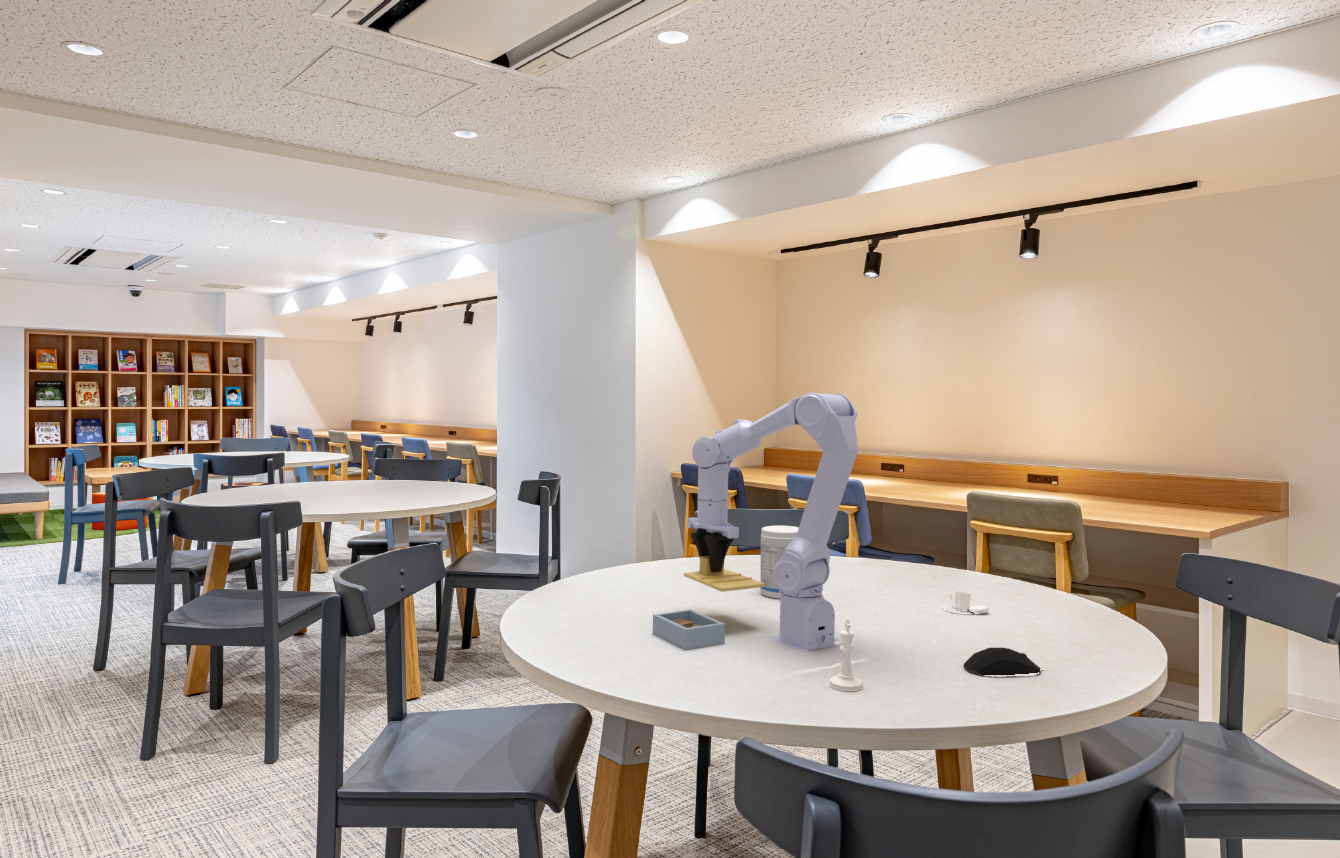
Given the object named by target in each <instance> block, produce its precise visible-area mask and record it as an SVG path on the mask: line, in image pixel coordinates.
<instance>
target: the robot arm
mask: <svg viewBox="0 0 1340 858" xmlns="http://www.w3.org/2000/svg"><path fill="white" fill-rule="evenodd" d="M857 417H858V412H857V410H856V408H855V406H854V405H853V404H852V402H851V400H850V399H849V398H848V396H846V395H845V394H842V393H831V394H830V393H817V392H807V393H805V394H803V395H802V396H798V397H795V398H792V399H791V400H789V401H788V402H786V403H785V404H783V405H782V406H780V407H778V408H776V409H774V410H772V411H771V412H769V413H768V414H765V415H764V416H762V417H760V418H759V419H757V420H755V421H751V420H749V419H742V418H738V419H735V420H734V421H732V423H733V425H731V426H729V427H727V428H725V429H724V430H722V429H717V430H716V431H715V432H714V435H713V436H707V435H705V436H700V437H699V439H697V440H696V441H695V442H694V444H693V446H692V450H691V451H692V452H691V454H692V459H693V460H694V462H695V464H696V465H697V466H698V467H697V468H698V469H697V470H698V471H697V472H698V473H697V475H698V476H697V517H687V528H688V529H696V531H695V532H691V533H690V536H691V539H692V540H693V543H694V544H695V548H696V551H697V552H698V553H697V554H698V557H699V559H700V556H709V564H710V571H711V572H712V573H715V572H721V571H722V567H723V563H724V564H725V559H726V555H727V553H728V551H729V549H730V547H731V545H732V544H733V542H734V540H735V539H737V538H740V537H739V534H740V527H739V526H735V525H733V524H731V523H729V522H728V506H729V504H728V503H729V501H728V500H729V499H728V494H729V473H730V471H731V469H730V467H731V465H732V464H733V462H734V460H735V459H737V458H738V457H741V456H743V455H745V454H747V453H749V452H751V451H754V450H756V449H757V448H759V447H760V445H761V443H762V439H763V438H766V437H768V436H771V435H773V434H775V433H777V432H780V431H782V430H785V429H787V428H789V427H792V426H798V425H800V427H801V428H802V429H803V430H804V431H805V432H806V433H807V434H808V435H809V436H810V437H811V438H812V439H813V440H814V441H815V442H816V443H817V445H818V446H819V449H820V450H821V453H822V455H821V458H820V462H819V464H818V468H817V470H816V474H815V477H814V479H813V482H812V486H811V489H810V492H809V494H808V498H807V500H806V505H805V507H804V510H803V513H802V517H801V520H800V523H799V525H798V526H799V529H798V532H797V535H796V537H795V538H794V539H793V540H792V542H791V543H790V544H789V545H788V546H787V547H786V548H785V550H784V553H783V556H782V557H781V559H780V560H778V561H777V562H776V564H775V566H774V568H773V579H774V582H775V585H776V586H777V588H778V589H779V594H780V599H779V602H780V605H779V634H778V635H777V634H776V635H773V636H769V639H772V640H774V641H776V642H778V643H781V644H783V645H786V646H788V647H791V648H794V649H796V650H798V651H800V652H809V651H814V650H815V651H816V650H820V649H825V648H830V647H837V646H838V645H839V644H837V643H836V642H835V631H836V630H835V628H836V625H835V620H836V613H835V609H834V606H833V604H832V603H831V602H830V601H828V600H827V599H825V597H824V596H823V591H824V584H826V582H827V581H828V579H829V577H830V573H831V569H830V559H831V556H832V552H831V550H830V548H829V547H828V545H827V544H828V542H829V538H830V536H831V532H832V530H833V527H834V524H835V520H836V518H837V515H838V512H839V509H840V506H841V502H842V499H843V497H844V494H845V491H846V488H847V486H848V485H847V484H848V482H849V479H850V477H851V473H852V470H853V466H854V464H855V461H856V458H857V455H858V451H859V446H858V444H859V443H858V436H857V428H856V420H857Z"/></svg>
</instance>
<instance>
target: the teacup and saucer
mask: <svg viewBox="0 0 1340 858" xmlns="http://www.w3.org/2000/svg"><path fill="white" fill-rule="evenodd" d="M952 595H954V600H953V597H952ZM949 599H950V601H951V603H952V605H954V606H955V607H954V608H955V609H956V611H958V610H968V611H969V612H970V613H971V612H973V613H978V614H979V615H982V614H986V613H988V612H989V609H990V608H989V606H987V605H973V606H972V607H970V608H969V606H970V604H971V592H969V591H965V590H956V591H953V592H951V593H950V594H949ZM948 605H949V604H948ZM948 605H947V604H946V605H945V606H948ZM942 608H944V607H943V606H942ZM942 608H941V609H942ZM943 611H945V609H944V610H943ZM950 611H951V610H950ZM950 611H949V612H948V613H950ZM973 613H972V614H973ZM981 613H982V614H981Z"/></svg>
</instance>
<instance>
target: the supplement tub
mask: <svg viewBox="0 0 1340 858" xmlns="http://www.w3.org/2000/svg"><path fill="white" fill-rule="evenodd" d="M798 529H799V527H798V526H792V525H767V526H764V527H762V528H761V532H760V533H761V534H760V581H759V582H761V583H764V584H765V586H764V587H759V588H760V590H759V591H760V593H761V594H762V595H763V596H765V597H766V598H767V597H768V598H770V599H771V598H772V599H778V600H780V594H779V589H778V588H777V586H776V585H775V582H774V579H773V568H774V566H775V564H776V562H777V561H778V560H780V559H781V557H782V556H783V553H784V550H785V548H786V547H787V546H788V545H789V544H790V543H791V542H792V540H793V539H794V538H795V537H796V535H797V532H798Z"/></svg>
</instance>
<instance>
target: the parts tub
mask: <svg viewBox="0 0 1340 858" xmlns="http://www.w3.org/2000/svg"><path fill="white" fill-rule="evenodd" d="M677 619H683V620H687V621H691V622H692V625H696V624H702V625H704V626H697V627H691V628H686V627H684V626H682V625H679V624H677V623H675V622H673V620H677ZM652 635H655V636H656V637H658V638H660V639H662V640H663V641H664V640H665V641H666V642H668V643H670V644H672V645H674V646H676V647H678V648H680V649H682V650H684V651H688V650H690V651H691V650H694V649H695V650H696V649H701V648H707V647H712V646H718V645H719V646H720V645H724V644H726V642H725V641H726V639H725V638H726V623H724V622H722V621H719V620H717V619H715V618H712V617H710V616H707V615H705V614H703V613H700V612H699V611H696V610H693V609H683V610H676V611H670V612H660V613H656V614H655V613H654V614H652Z"/></svg>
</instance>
